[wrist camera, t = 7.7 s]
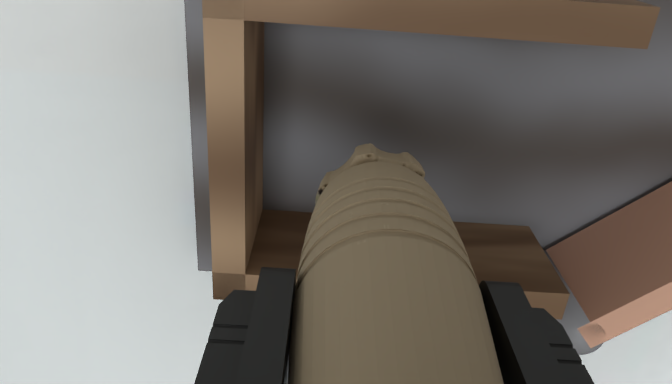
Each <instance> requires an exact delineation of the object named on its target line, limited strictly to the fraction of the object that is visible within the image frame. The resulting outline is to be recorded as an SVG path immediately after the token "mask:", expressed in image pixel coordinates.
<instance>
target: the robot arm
mask: <svg viewBox="0 0 672 384" xmlns="http://www.w3.org/2000/svg"><path fill="white" fill-rule="evenodd" d="M295 287H296V269H290V268H273V267H261V270H260V275H259V279H258V284H257V288H256V291H250V290H233V291H232V292H231V293H230V294H229V295H228V296H227V297H226V298H225V299H224V300H223V301H222V302H221V303H220V304H219V306H218V309H217V313H216V316H215V319H214V322H213V327H212V329H211V332H210V335H209V338H208V343H207V345H206V348H205V351H204V354H203V358H202V361H201V364H200V367H199V371H198V374H197V377H196V380H195V383H194V384H288V368H289V348H290V335H291V324H292V313H293V303H294V298H295ZM479 288H480V290H481V294H482V298H483V302H484V306H485V310H486V314H487V318H488V322H489V326H490V330H491V334H492V338H493V342H494V346H495V350H496V354H497V358H498V362H499V367H500V371H501V375H502V379H503V383H504V384H594V383H593V381H592V379H591V377H590V375H589V373H588V371H587V370H586V368H585V366H584V365H582V363H581V362H582V360H581V359H580V357H579V355H578V353H577V351H576V349H574V348H573V344H572V342H571V340H570V338H569V336H568V335H567V333H566V331H565V329H564V327H563V325H562V324H560V323H559V322H558V321H557V320H556V319H555V318H554V317H553V316H552V315H551V314H549V313H548V312H547V311H546V310H545V309H544V308H531V305H530V303H529V301H528V299H527V297H526V295H525V293H524V291H523V289H522V287H521V285H520V284H519V283H515V282H499V281H481V282H480V284H479Z"/></svg>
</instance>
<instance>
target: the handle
mask: <svg viewBox="0 0 672 384" xmlns="http://www.w3.org/2000/svg"><path fill="white" fill-rule="evenodd" d="M424 177H425V171H424V169H423V168H422V166H421V164H420V163H419V162H418V161H417V160H416V159H415V158H414V157H413V156H412V155H411V154H409V153H408V152H402V153H400V154H394V153H388V152H385V151H382V150H380V149H378V148H376V147H375V146H374V145H373V144H371V143H369V144H363V145H359V146H357V147H356V148H355V151H354V153H353V154H352V156H351V157H350V158H349V160H348V161H347V162H346V163H345V164H344V165H342V166H341V167H340V168H338V169H336V170H334V171H330V172H327V173H326V175H325V176H324V178H323V179H322V181H321V183H320V186H319V189H318V192H317V195H316V200H315V208H314V210H313V213H312V216H311V219H310V222H309V225H308V228H307V233H306V236H305V240H304V245H303V249H302V253H301V257H300V263H299V268H298V274H297V280H296V287H295V298H294V303H293V313H292V324H291V335H290V348H289V368H288V384H504V383H503V379H502V375H501V371H500V367H499V362H498V358H497V354H496V350H495V346H494V342H493V338H492V334H491V330H490V326H489V322H488V318H487V314H486V310H485V306H484V302H483V298H482V294H481V290H480V288H479V286H478V282H477V279H476V276H475V273H474V271H473V268H472V266H471V262H470V260H469V257H468V254H467V252H466V250H465V247H464V244H463V242H462V240H461V238H460V236H459V233H458V231H457V229H456V227H455V225H454V223H453V221H452V219H451V217H450V215H449V213H448V211H447V209H446V208H445V206H444V204H443V203H442V201H441V200H440V198H439V197H438V195H437V194H436V192H435V191H434V190H433V189H432V187H431V186H430V185H429V184H428V183H427V182H426V181H425V180H424Z"/></svg>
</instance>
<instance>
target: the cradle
mask: <svg viewBox="0 0 672 384" xmlns="http://www.w3.org/2000/svg"><path fill="white" fill-rule="evenodd" d="M184 3H185V22H186V42H187V61H188V81H189V100H190V120H191V139H192V159H193V178H194V198H195V217H196V237H197V256H198V270H200V271H212V277H213V299H222V300H224V299H225V298H226V297H227V296H228V295H229V294H230V293H231V292H232V291H233V290H250V291H256V288H257V284H258V279H259V275H260V270H261V267H273V268H290V269H296V280H297V274H298V268H299V263H300V257H301V253H302V249H303V245H304V240H305V236H306V233H307V228H308V225H309V222H310V219H311V216H312V213H313V210H314V208H315V200H316V195H317V192H318V189H319V186H320V183H321V181H322V179H323V178H324V176H325V175H326V173H327V172H330V171H334V170H336V169H338V168H340V167H341V166H342V165H344V164H345V163H346V162H347V161H348V160H349V158H350V157H351V156H352V154H353V153H354V151H355V148H356V147H357V146H359V145H363V144H369V143H371V144H373V145H374V146H375V147H376V148H378V149H380V150H382V151H385V152H388V153H394V154H400V153H402V152H408V153H409V154H411V155H412V156H413V157H414V158H415V159H416V160H417V161H418V162H419V163H420V164H421V166H422V168H423V169H424V171H425V177H424V180H425V181H426V182H427V183H428V184H429V185H430V186H431V187H432V189H433V190H434V191H435V192H436V194H437V195H438V197H439V198H440V200H441V201H442V203H443V204H444V206H445V208H446V209H447V211H448V213H449V215H450V217H451V219H452V221H453V223H454V225H455V227H456V229H457V231H458V233H459V236H460V238H461V240H462V242H463V244H464V247H465V250H466V252H467V254H468V257H469V260H470V262H471V266H472V268H473V271H474V273H475V276H476V279H477V282H478V286H479V284H480V282H481V281H499V282H515V283H519V284H520V285H521V287H522V289H523V291H524V293H525V295H526V297H527V299H528V301H529V303H530V305H531V308H544V309H545V310H546V311H547V312H548V313H549V314H551V315H552V316H553V317H554V318H555V319H559V320H562V317H563V314H564V311H565V308H566V305H567V302H568V299H569V295H570V293H569V292H568V290H567V288H566V287H565V285H564V283H563V282H562V280H561V279H560V277H559V275H558V274H557V272H556V270H555V269H554V267H553V265H552V264H551V262H550V260H549V259H548V257H547V255H546V254H545V252H544V250H547V249H548V248H550V247H552V246H554V245H556V244H558V243H559V242H561V241H563V240H565V239H567V238H569V237H570V236H572V235H574V234H576V233H578V232H580V231H581V230H583V229H585V228H587V227H589V226H591V225H592V224H594V223H596V222H598V221H600V220H602V219H603V218H605V217H607V216H609V215H611V214H613V213H614V212H616V211H618V210H620V209H622V208H624V207H625V206H627V205H629V204H631V203H633V202H635V201H636V200H638V199H640V198H642V197H644V196H646V195H647V194H649V193H651V192H653V191H655V190H657V189H658V188H660V187H662V186H664V185H666V184H668V183H669V182H671V181H672V0H184Z"/></svg>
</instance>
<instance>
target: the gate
mask: <svg viewBox="0 0 672 384" xmlns="http://www.w3.org/2000/svg"><path fill="white" fill-rule="evenodd" d="M544 252H545V254H546V255H547V257H548V259H549V260H550V262H551V264H552V265H553V267H554V269H555V270H556V272H557V274H558V275H559V277H560V279H561V280H562V282H563V283H564V285H565V287H566V288H567V290H568V292H569V293H570V295H569V299H568V302H567V305H566V308H565V311H564V314H563V317H562V320H559V319H556V320H557V321H558V322H559V323H560V324H562V325H563V327H564V329H565V331H566V333H567V335H568V336H569V338H570V340H571V342H572V344H573V348H574V349H576V351H577V353H578V355H583V354H588V353H591V352H593V351H595V350H597V349H598V348H599V347H600V346H601V345H602V344H603V343H604V342H605V341H607V340H609V339H612V338H614V337H616V336H618V335H620V334H622V333H624V332H626V331H628V330H630V329H632V328H634V327H636V326H639V325H641V324H643V323H645V322H647V321H649V320H651V319H653V318H655V317H657V316H659V315H661V314H663V313H665V312H668V311H670V310H672V181H671V182H669V183H668V184H666V185H664V186H662V187H660V188H658V189H657V190H655V191H653V192H651V193H649V194H647V195H646V196H644V197H642V198H640V199H638V200H636V201H635V202H633V203H631V204H629V205H627V206H625V207H624V208H622V209H620V210H618V211H616V212H614V213H613V214H611V215H609V216H607V217H605V218H603V219H602V220H600V221H598V222H596V223H594V224H592V225H591V226H589V227H587V228H585V229H583V230H581V231H580V232H578V233H576V234H574V235H572V236H570V237H569V238H567V239H565V240H563V241H561V242H559V243H558V244H556V245H554V246H552V247H550V248H548V249H547V250H544Z"/></svg>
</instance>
